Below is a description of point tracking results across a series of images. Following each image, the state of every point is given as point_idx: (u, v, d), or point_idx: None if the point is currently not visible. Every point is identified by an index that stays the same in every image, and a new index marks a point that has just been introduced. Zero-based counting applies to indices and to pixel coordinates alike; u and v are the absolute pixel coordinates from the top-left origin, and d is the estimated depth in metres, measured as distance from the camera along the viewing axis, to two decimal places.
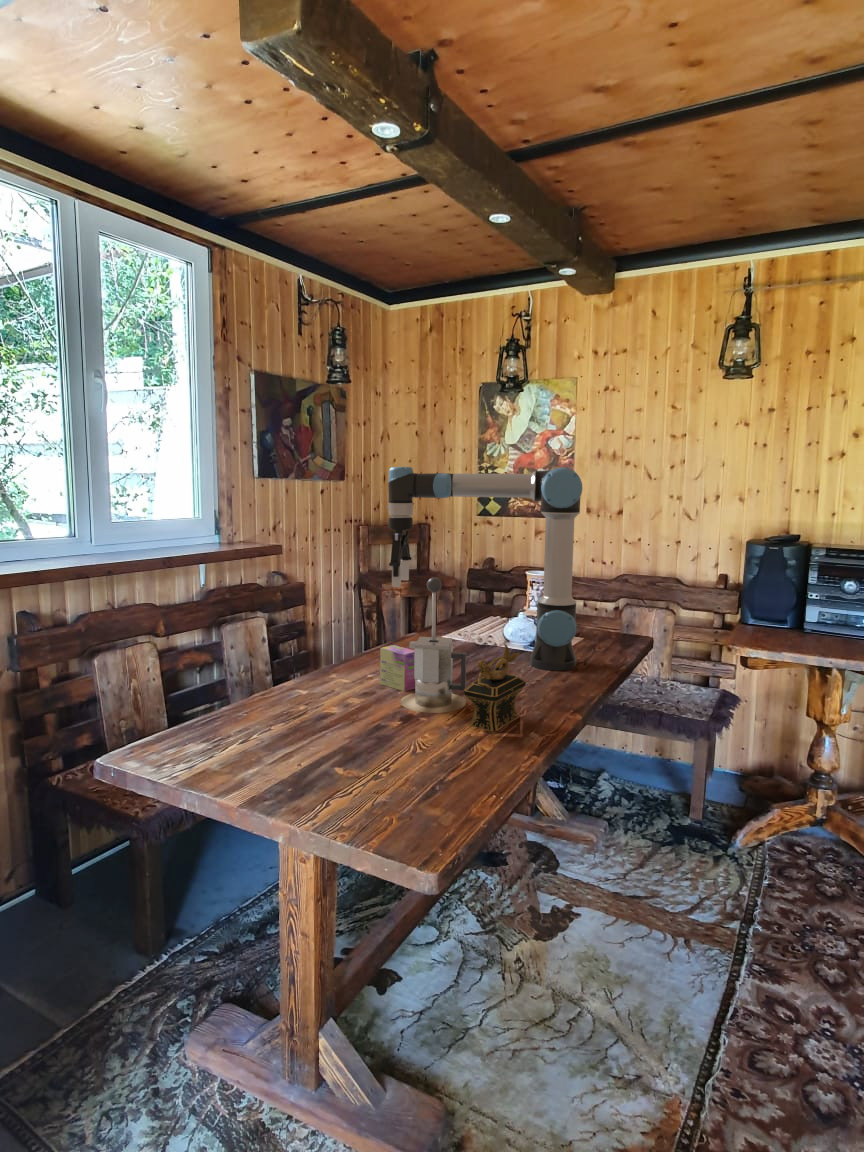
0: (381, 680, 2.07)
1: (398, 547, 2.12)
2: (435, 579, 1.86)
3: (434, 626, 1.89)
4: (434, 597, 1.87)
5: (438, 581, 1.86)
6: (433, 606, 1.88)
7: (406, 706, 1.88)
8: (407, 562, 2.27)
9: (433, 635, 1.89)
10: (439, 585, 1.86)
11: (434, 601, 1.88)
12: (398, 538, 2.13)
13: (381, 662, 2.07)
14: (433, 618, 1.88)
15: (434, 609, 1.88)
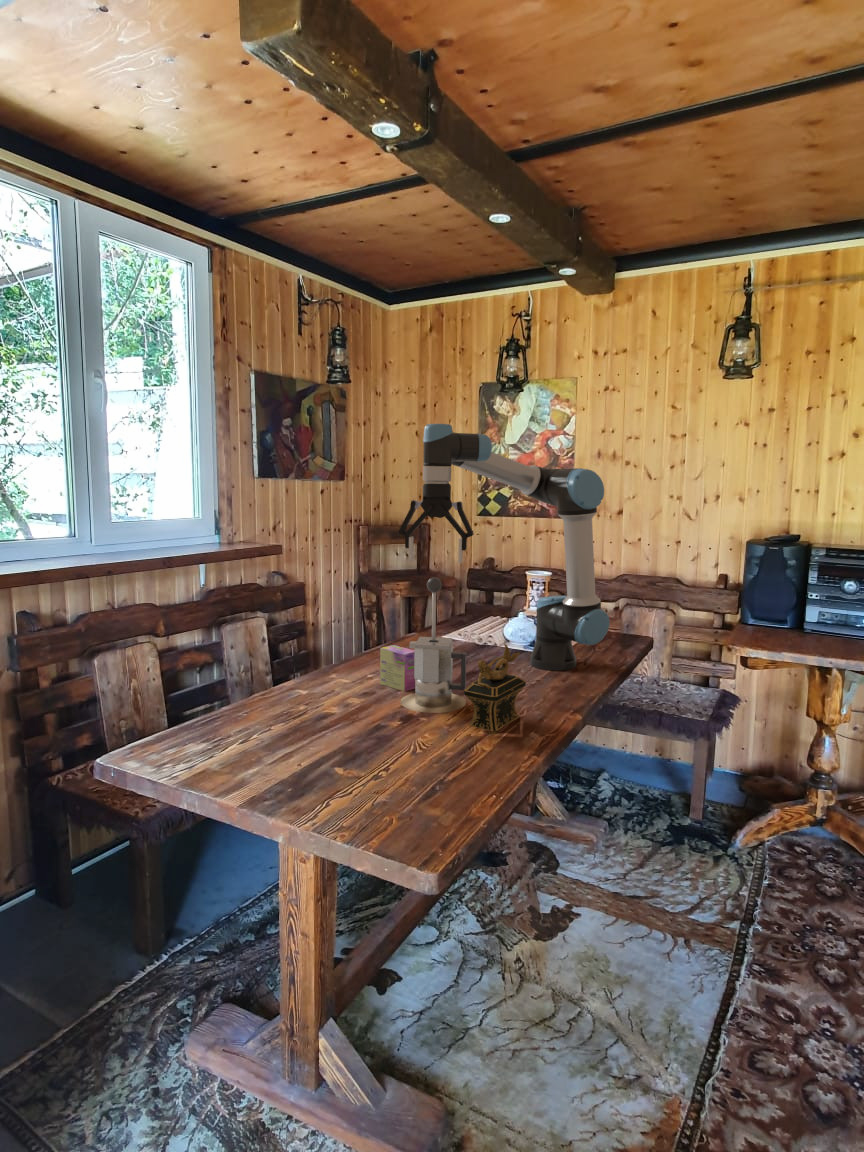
0: (381, 680, 2.07)
1: None
2: (435, 579, 1.86)
3: (434, 626, 1.89)
4: (434, 597, 1.87)
5: (438, 581, 1.86)
6: (433, 606, 1.88)
7: (406, 706, 1.88)
8: (459, 540, 1.88)
9: (433, 635, 1.89)
10: (439, 585, 1.86)
11: (434, 601, 1.88)
12: None
13: (381, 662, 2.07)
14: (433, 618, 1.88)
15: (434, 609, 1.88)
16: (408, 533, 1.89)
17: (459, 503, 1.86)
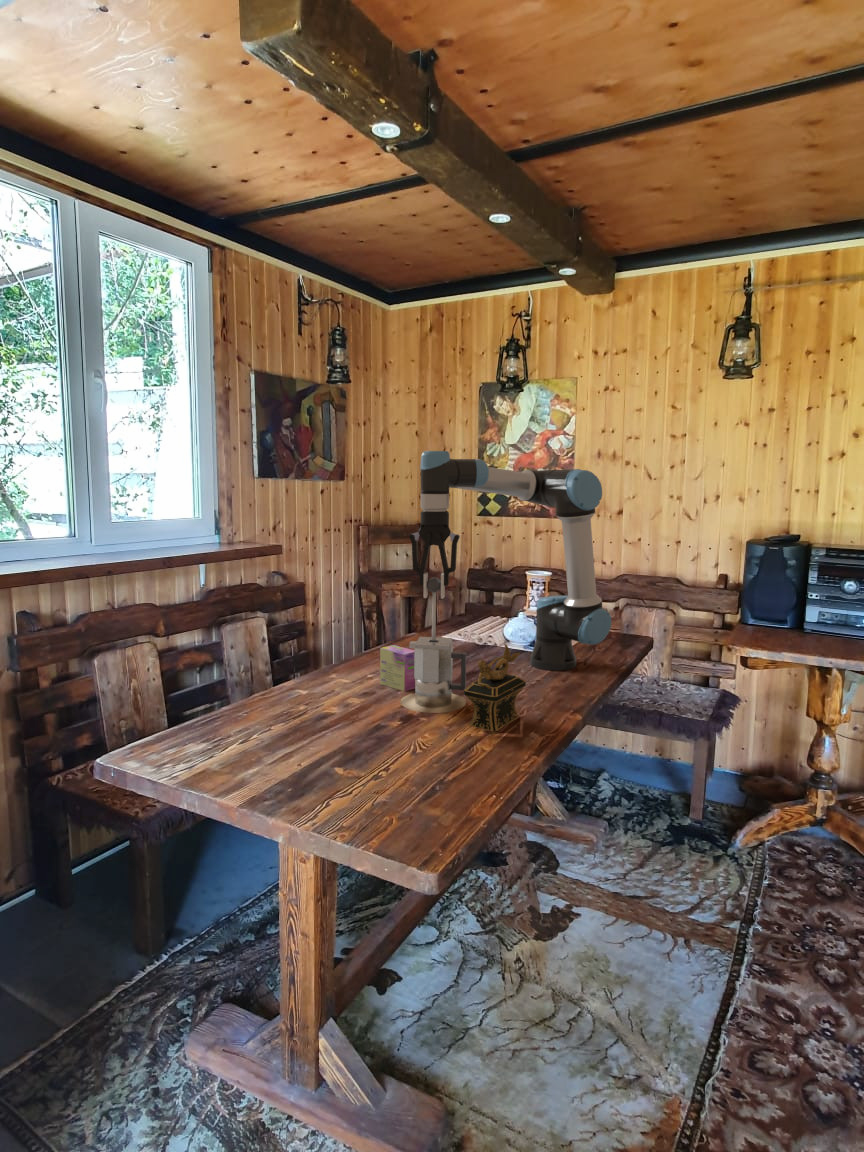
0: (381, 680, 2.07)
1: None
2: (435, 579, 1.86)
3: (434, 626, 1.89)
4: (434, 597, 1.87)
5: (438, 581, 1.86)
6: (433, 606, 1.88)
7: (406, 706, 1.88)
8: (441, 576, 1.86)
9: (433, 635, 1.89)
10: (439, 585, 1.86)
11: (434, 601, 1.88)
12: None
13: (381, 662, 2.07)
14: (433, 618, 1.88)
15: (434, 609, 1.88)
16: (422, 569, 1.86)
17: (457, 537, 1.83)
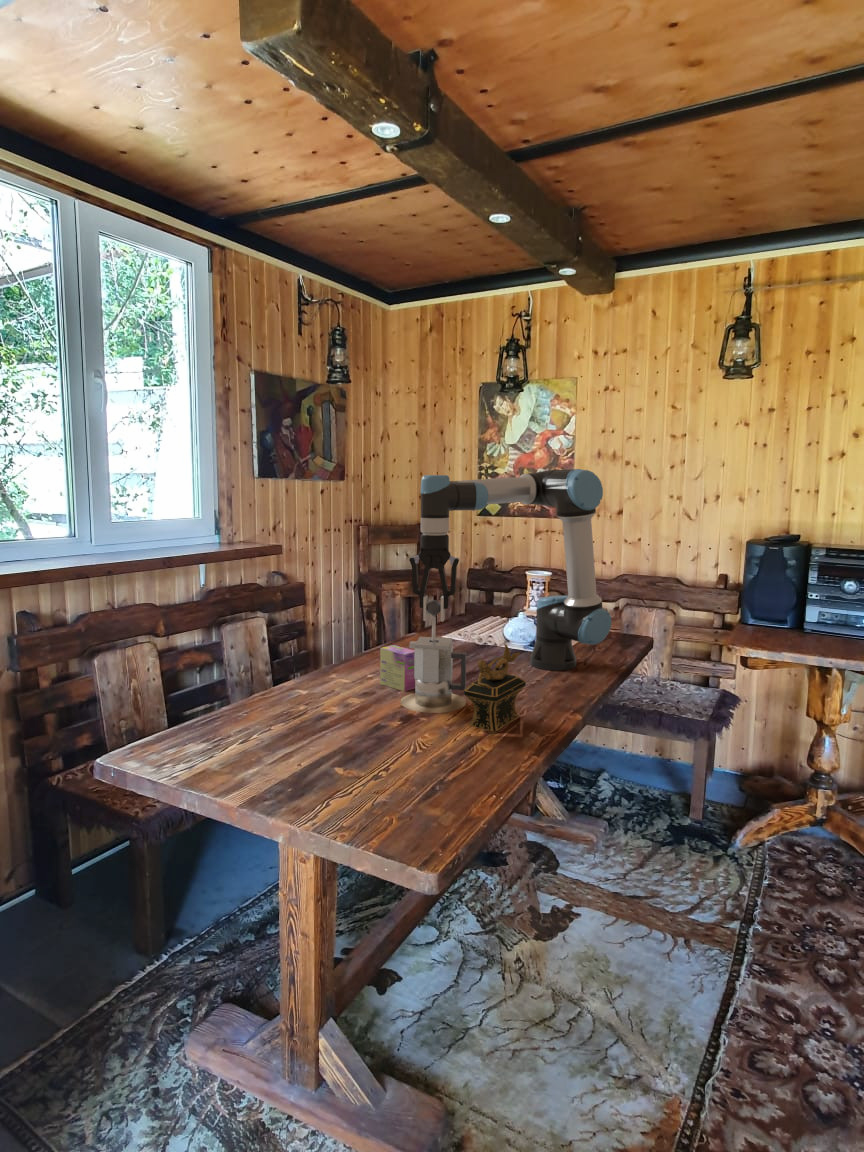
0: (381, 680, 2.07)
1: None
2: (435, 602, 1.87)
3: None
4: (434, 620, 1.88)
5: (438, 604, 1.87)
6: (433, 628, 1.89)
7: (406, 706, 1.88)
8: None
9: None
10: (439, 608, 1.87)
11: (434, 624, 1.89)
12: None
13: (381, 662, 2.07)
14: (433, 640, 1.89)
15: (434, 632, 1.89)
16: (422, 592, 1.87)
17: (457, 560, 1.84)
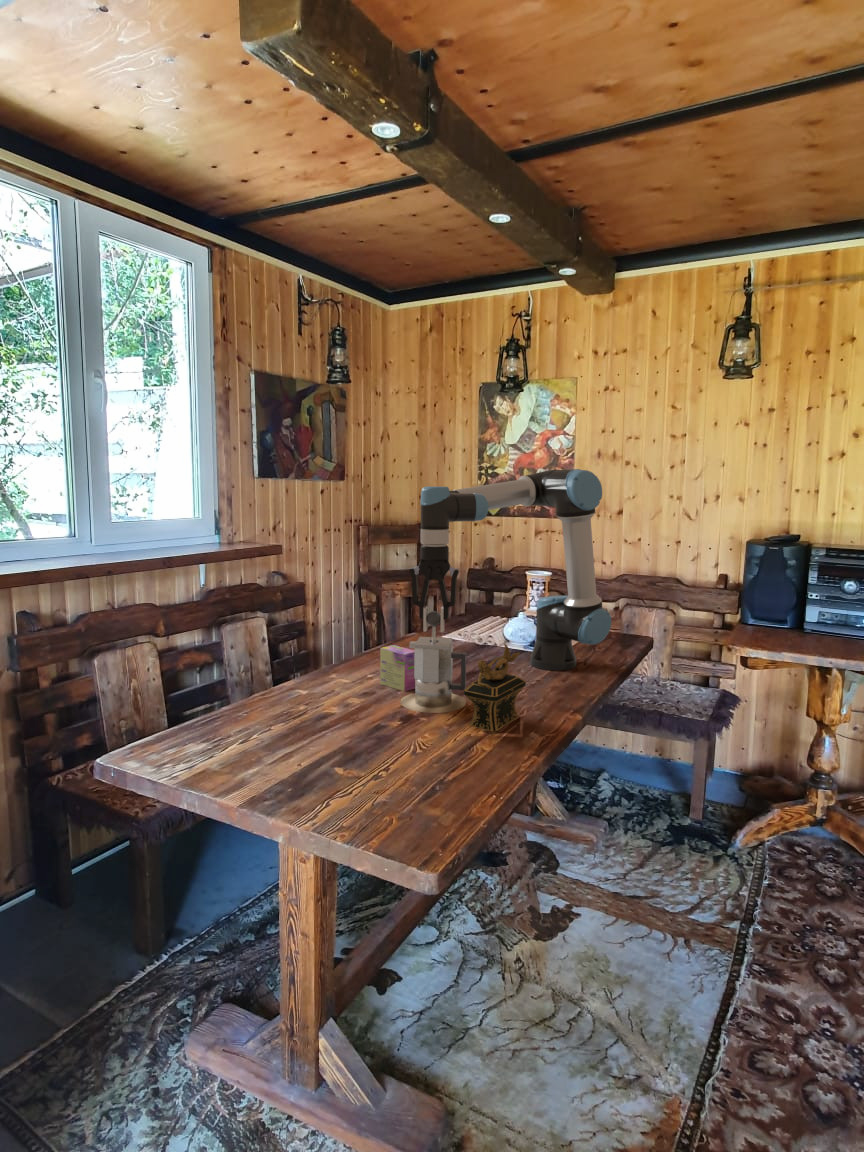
0: (381, 680, 2.07)
1: None
2: (435, 613, 1.88)
3: None
4: (434, 631, 1.89)
5: (438, 615, 1.87)
6: (433, 639, 1.89)
7: (406, 706, 1.88)
8: None
9: None
10: (439, 619, 1.87)
11: (434, 634, 1.89)
12: None
13: (381, 662, 2.07)
14: None
15: None
16: (422, 603, 1.87)
17: (456, 572, 1.85)
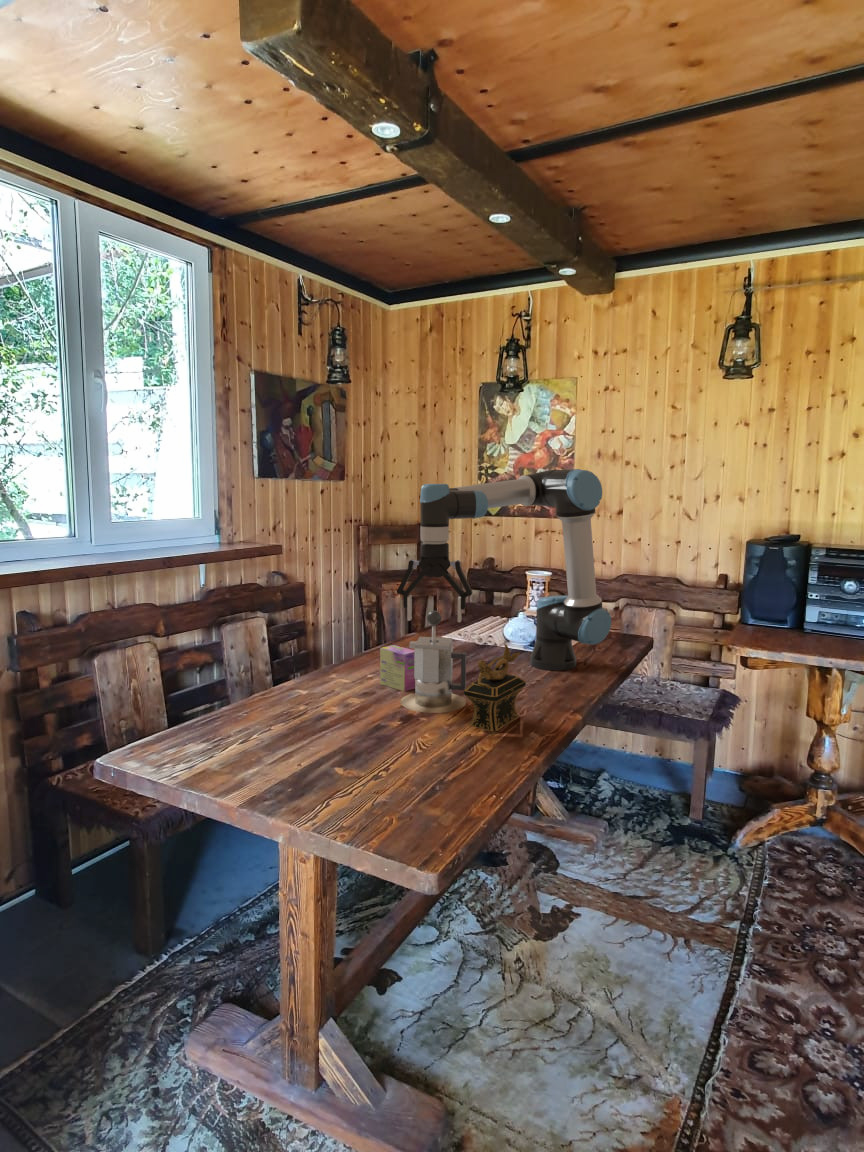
0: (381, 680, 2.07)
1: (404, 575, 1.87)
2: (435, 612, 1.87)
3: None
4: (434, 630, 1.89)
5: (438, 614, 1.87)
6: (433, 639, 1.89)
7: (406, 706, 1.88)
8: None
9: None
10: (439, 618, 1.87)
11: (434, 634, 1.89)
12: None
13: (381, 662, 2.07)
14: None
15: None
16: (406, 593, 1.88)
17: (457, 563, 1.84)
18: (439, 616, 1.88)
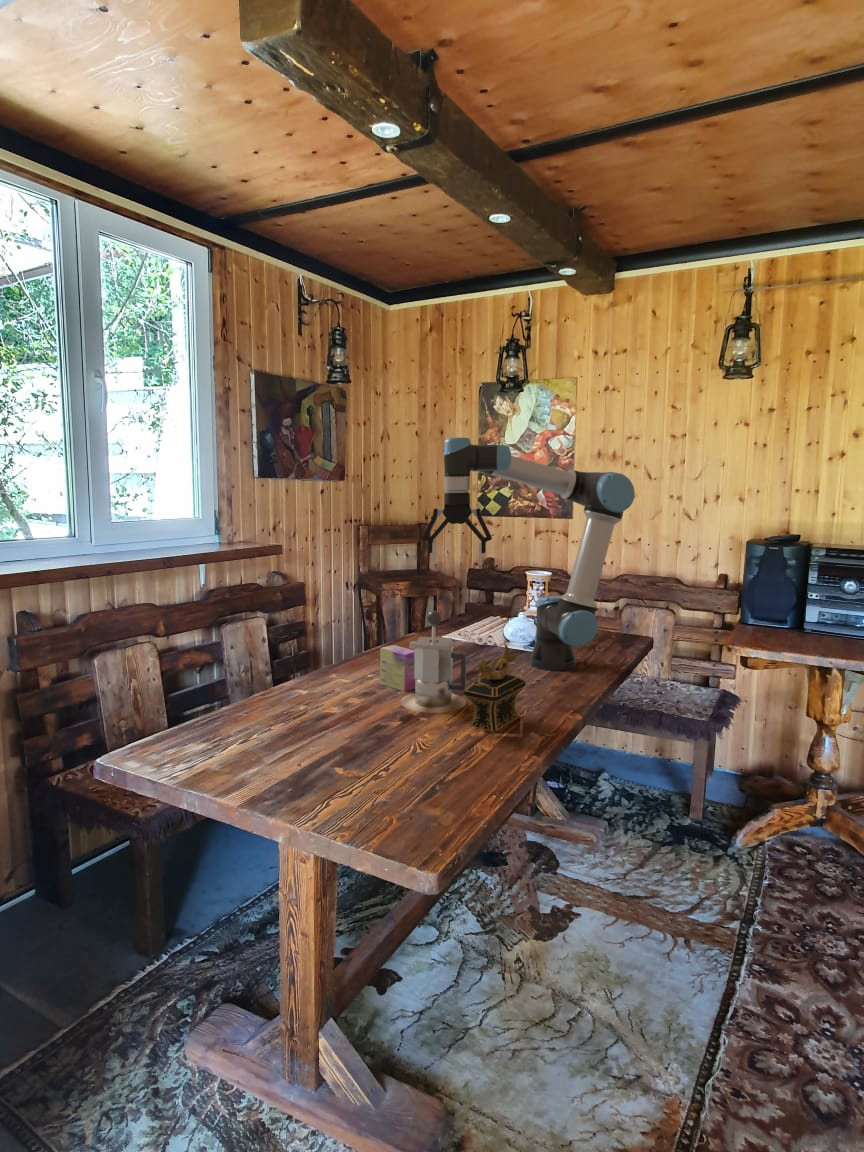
0: (381, 680, 2.07)
1: None
2: (435, 612, 1.87)
3: None
4: (434, 630, 1.89)
5: (438, 614, 1.87)
6: (433, 639, 1.89)
7: (406, 706, 1.88)
8: None
9: None
10: (439, 618, 1.87)
11: (434, 634, 1.89)
12: (433, 513, 2.04)
13: (381, 662, 2.07)
14: None
15: None
16: (431, 539, 2.05)
17: (478, 510, 2.02)
18: (439, 616, 1.88)
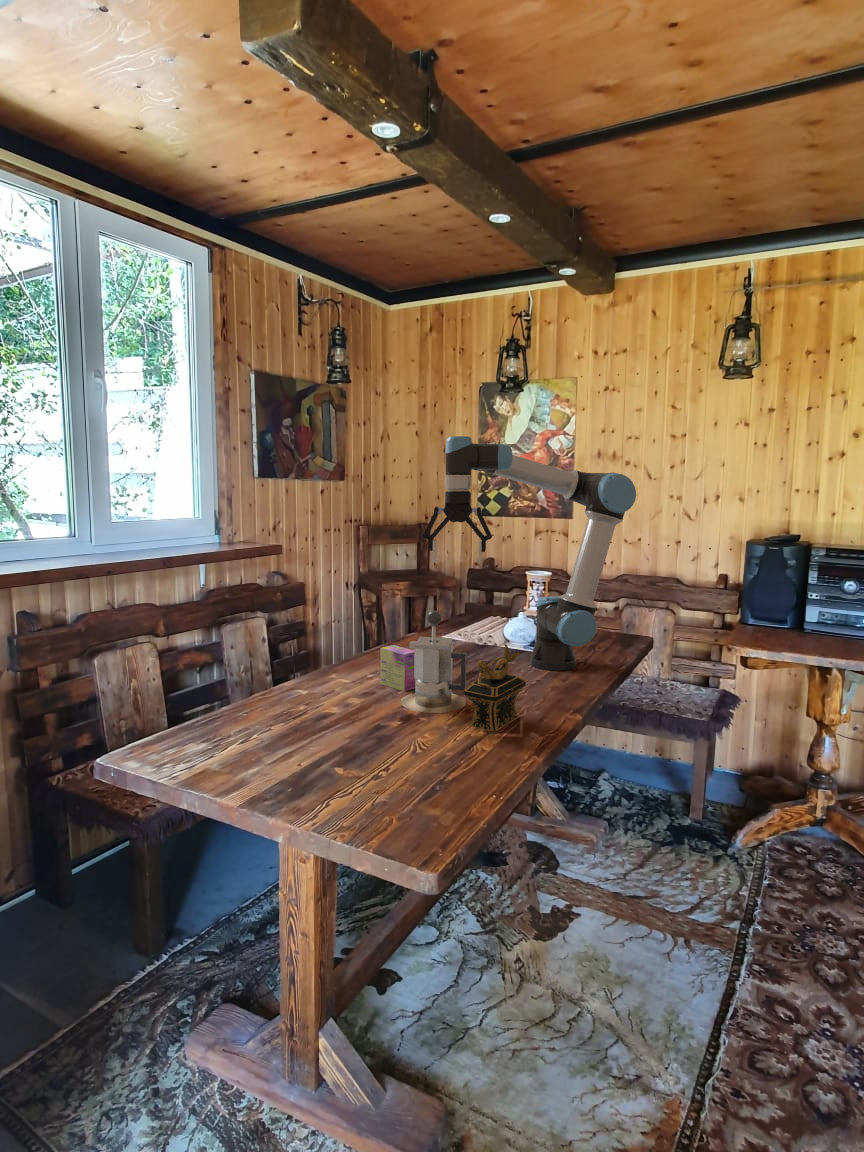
0: (381, 680, 2.07)
1: (430, 520, 2.05)
2: (435, 612, 1.87)
3: None
4: (434, 630, 1.89)
5: (438, 614, 1.87)
6: (433, 639, 1.89)
7: (406, 706, 1.88)
8: None
9: None
10: (439, 618, 1.87)
11: (434, 634, 1.89)
12: (434, 511, 2.05)
13: (381, 662, 2.07)
14: None
15: None
16: (432, 537, 2.06)
17: (479, 509, 2.02)
18: (439, 616, 1.88)
